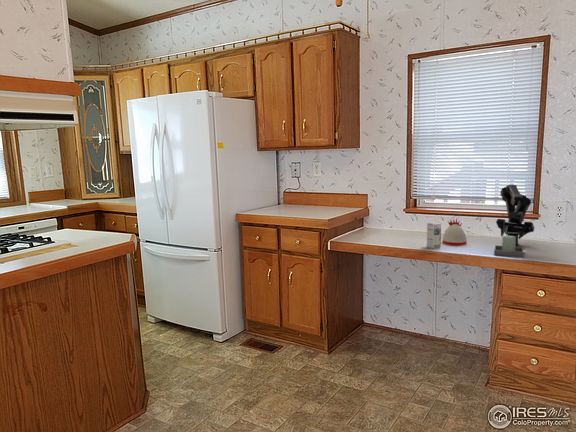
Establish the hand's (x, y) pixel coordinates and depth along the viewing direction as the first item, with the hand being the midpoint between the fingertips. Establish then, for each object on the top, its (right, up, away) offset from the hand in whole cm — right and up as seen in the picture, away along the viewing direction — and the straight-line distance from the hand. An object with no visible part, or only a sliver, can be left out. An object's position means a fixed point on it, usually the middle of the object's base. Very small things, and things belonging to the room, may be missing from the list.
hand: (510, 237), depth 246 cm
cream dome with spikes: (-20, -5, +29) cm, 36 cm away
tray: (-1, -9, 0) cm, 9 cm away
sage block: (-1, -8, 0) cm, 8 cm away
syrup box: (-36, -7, +20) cm, 41 cm away
